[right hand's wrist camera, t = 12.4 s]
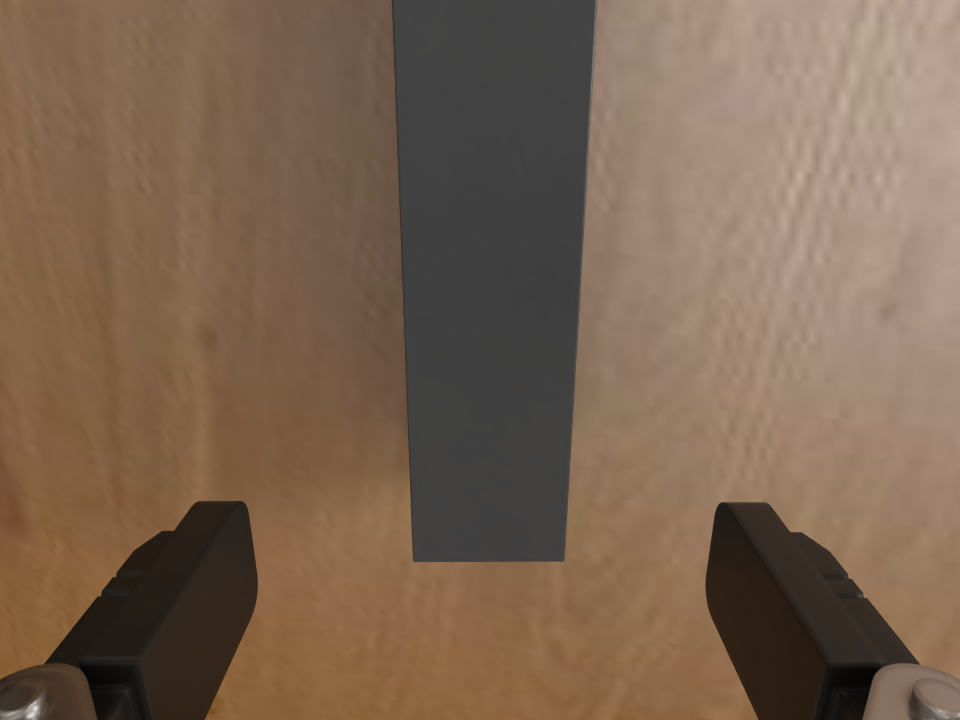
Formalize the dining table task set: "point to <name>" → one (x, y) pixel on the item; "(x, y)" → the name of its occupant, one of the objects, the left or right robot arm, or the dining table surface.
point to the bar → (491, 266)
